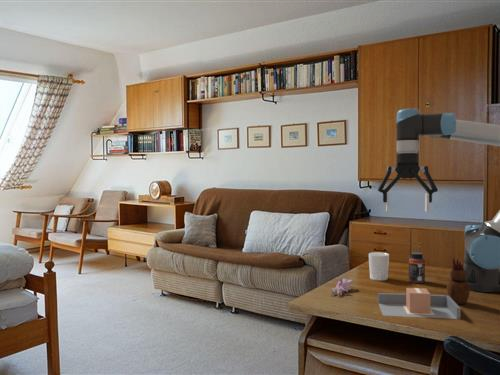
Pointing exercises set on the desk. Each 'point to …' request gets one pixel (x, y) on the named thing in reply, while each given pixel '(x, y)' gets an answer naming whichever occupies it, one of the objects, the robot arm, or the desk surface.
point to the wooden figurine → (458, 284)
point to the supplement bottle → (416, 268)
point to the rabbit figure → (341, 287)
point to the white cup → (378, 265)
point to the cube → (418, 300)
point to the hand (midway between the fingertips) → (407, 211)
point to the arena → (438, 309)
